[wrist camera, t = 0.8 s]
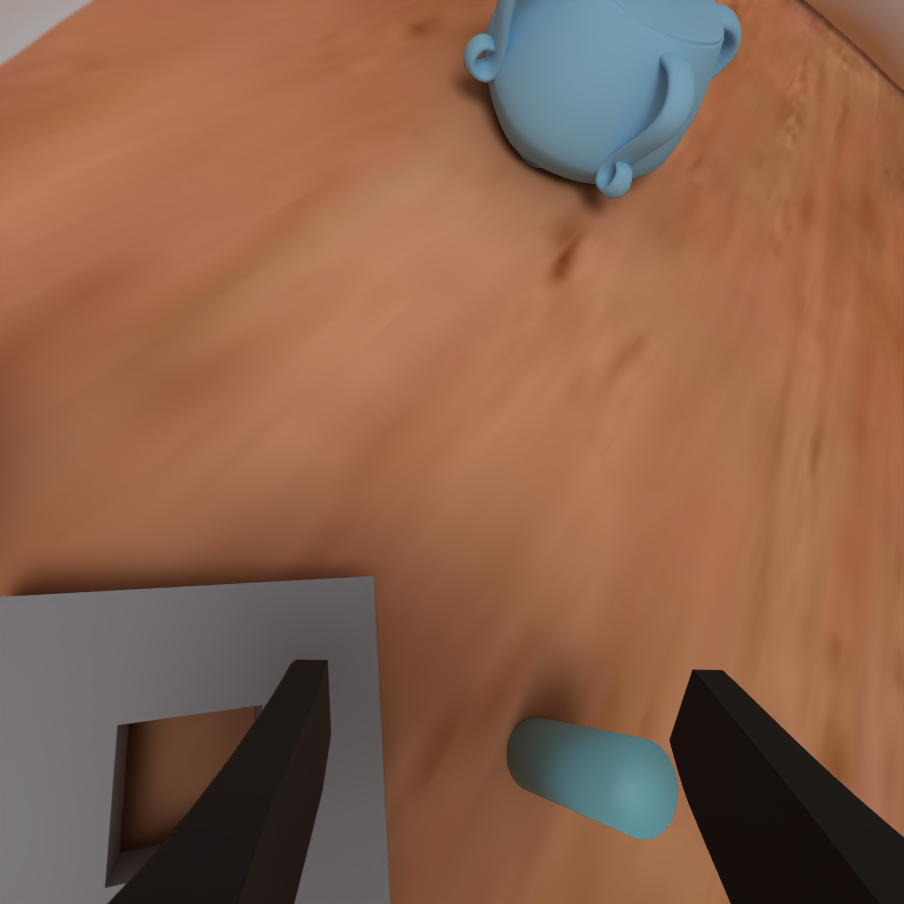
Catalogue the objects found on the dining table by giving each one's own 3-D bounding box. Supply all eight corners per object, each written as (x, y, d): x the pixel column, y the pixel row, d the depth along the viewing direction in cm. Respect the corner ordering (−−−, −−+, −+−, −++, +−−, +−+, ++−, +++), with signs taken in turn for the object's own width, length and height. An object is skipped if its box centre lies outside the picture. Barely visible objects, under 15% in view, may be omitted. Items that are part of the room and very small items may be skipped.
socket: (368, 924, 23) (393, 966, 20) (-57, 1054, 18) (-113, 1140, 15) (354, 584, 28) (373, 575, 24) (5, 605, 22) (-28, 598, 19)
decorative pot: (576, 248, 42) (724, 90, 30) (423, 86, 41) (513, -145, 29) (665, 163, 50) (810, 11, 38) (539, 26, 49) (647, -175, 37)
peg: (569, 784, 29) (685, 828, 22) (511, 798, 27) (615, 849, 20) (559, 712, 30) (667, 731, 23) (503, 722, 28) (599, 746, 21)
